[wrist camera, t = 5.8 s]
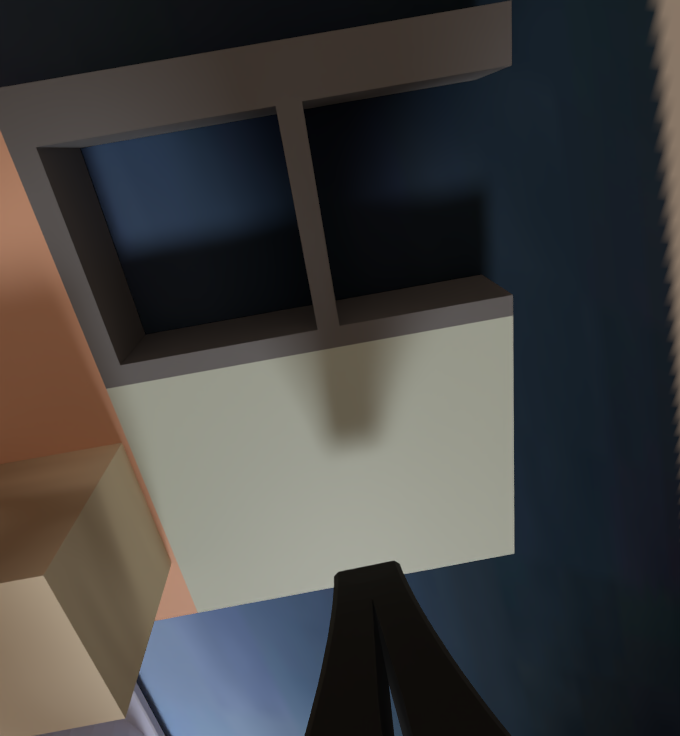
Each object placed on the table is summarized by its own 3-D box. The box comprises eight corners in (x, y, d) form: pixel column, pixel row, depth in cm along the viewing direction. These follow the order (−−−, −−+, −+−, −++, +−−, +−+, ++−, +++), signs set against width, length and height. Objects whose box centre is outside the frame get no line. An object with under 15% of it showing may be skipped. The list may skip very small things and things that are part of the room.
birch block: (27, 589, 13) (-75, 755, 10) (-44, 471, 11) (-200, 619, 8) (171, 562, 13) (125, 718, 10) (122, 442, 12) (43, 575, 8)
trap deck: (58, 587, 16) (28, 644, 14) (-196, 141, 10) (-301, 138, 8) (489, 508, 16) (514, 553, 14) (473, 26, 10) (511, 0, 9)
